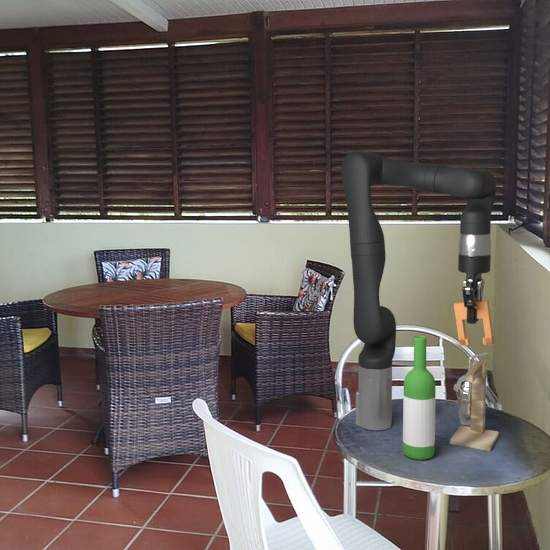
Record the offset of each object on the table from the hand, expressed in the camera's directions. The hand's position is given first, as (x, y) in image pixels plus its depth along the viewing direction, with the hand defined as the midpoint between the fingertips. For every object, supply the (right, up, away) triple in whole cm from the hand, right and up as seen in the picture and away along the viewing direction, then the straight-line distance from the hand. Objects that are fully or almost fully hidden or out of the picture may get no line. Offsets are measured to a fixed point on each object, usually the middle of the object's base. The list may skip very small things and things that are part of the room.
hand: (472, 322), depth 164 cm
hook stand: (+3, -32, +9) cm, 33 cm away
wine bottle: (-13, -33, +2) cm, 36 cm away
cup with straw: (+6, -30, +22) cm, 38 cm away
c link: (+1, -5, 0) cm, 5 cm away
